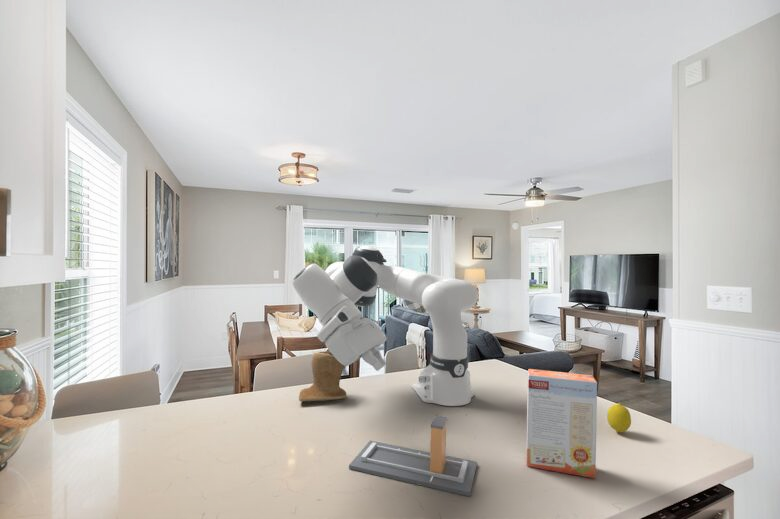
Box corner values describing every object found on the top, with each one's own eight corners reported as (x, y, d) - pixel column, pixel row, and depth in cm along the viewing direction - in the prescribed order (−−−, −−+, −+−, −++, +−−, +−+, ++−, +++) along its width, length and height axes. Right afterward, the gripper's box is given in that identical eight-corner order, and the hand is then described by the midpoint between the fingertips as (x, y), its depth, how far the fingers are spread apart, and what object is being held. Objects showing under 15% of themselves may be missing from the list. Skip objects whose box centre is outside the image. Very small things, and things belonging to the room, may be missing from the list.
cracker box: (591, 465, 87) (593, 374, 87) (595, 480, 81) (598, 382, 81) (525, 453, 91) (528, 366, 91) (525, 466, 86) (528, 374, 86)
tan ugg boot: (343, 390, 132) (344, 346, 132) (348, 403, 120) (349, 355, 120) (298, 392, 128) (299, 348, 128) (298, 406, 116) (299, 357, 116)
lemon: (634, 438, 101) (635, 408, 101) (611, 436, 102) (612, 406, 102) (625, 429, 106) (626, 400, 106) (603, 427, 107) (604, 398, 107)
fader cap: (429, 473, 81) (430, 424, 81) (434, 461, 86) (435, 415, 86) (441, 475, 80) (442, 426, 80) (446, 463, 85) (447, 416, 85)
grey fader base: (349, 468, 83) (349, 460, 83) (370, 443, 94) (370, 436, 94) (469, 496, 75) (469, 487, 75) (476, 465, 86) (477, 457, 86)
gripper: (353, 322, 100) (388, 364, 97) (312, 338, 80) (354, 390, 77) (369, 306, 98) (405, 348, 95) (331, 318, 79) (374, 371, 76)
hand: (382, 367), depth 86 cm, fingers closed
